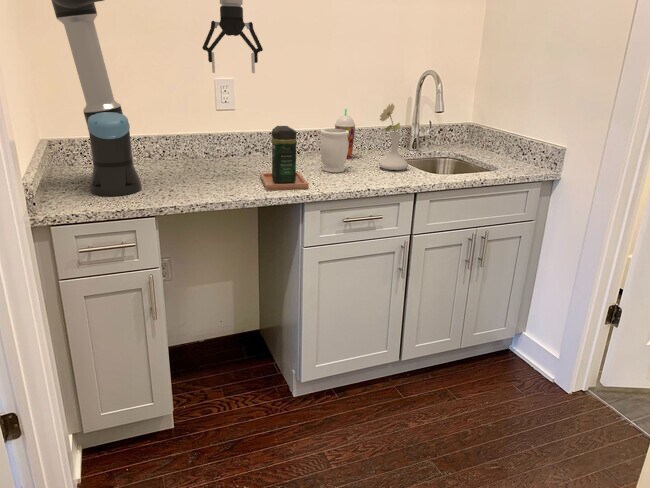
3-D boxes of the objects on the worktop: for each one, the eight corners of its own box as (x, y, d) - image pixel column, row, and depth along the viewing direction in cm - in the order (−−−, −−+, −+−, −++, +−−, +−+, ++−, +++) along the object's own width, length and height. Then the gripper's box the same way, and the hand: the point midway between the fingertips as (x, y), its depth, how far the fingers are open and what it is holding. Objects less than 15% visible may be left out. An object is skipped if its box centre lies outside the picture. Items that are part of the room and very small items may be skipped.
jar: (314, 169, 202) (314, 130, 197) (332, 165, 209) (333, 127, 204) (334, 175, 196) (336, 134, 190) (352, 170, 203) (354, 131, 197)
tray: (266, 190, 174) (266, 185, 174) (260, 178, 189) (259, 173, 188) (308, 189, 177) (308, 183, 177) (298, 176, 192) (298, 172, 191)
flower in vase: (394, 164, 215) (399, 100, 206) (413, 170, 206) (419, 104, 197) (369, 167, 208) (372, 101, 199) (387, 174, 199) (392, 105, 190)
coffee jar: (298, 184, 179) (298, 128, 172) (274, 185, 178) (274, 129, 171) (292, 177, 188) (293, 124, 181) (270, 178, 186) (269, 124, 179)
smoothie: (332, 155, 227) (334, 107, 220) (352, 155, 228) (354, 107, 221) (335, 159, 219) (336, 110, 212) (355, 159, 220) (357, 110, 213)
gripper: (192, 3, 171) (196, 73, 179) (270, 6, 177) (270, 73, 184) (192, 4, 178) (196, 71, 185) (267, 7, 183) (267, 72, 191)
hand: (233, 72), depth 185 cm, fingers open, 13 cm apart
